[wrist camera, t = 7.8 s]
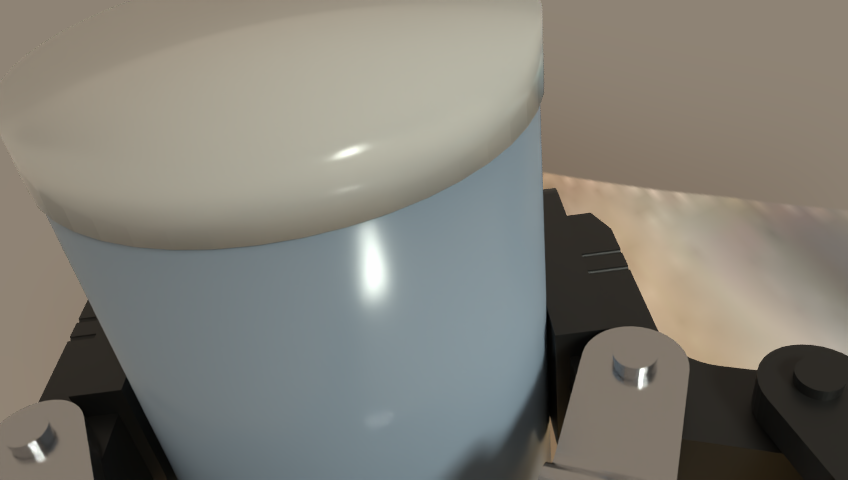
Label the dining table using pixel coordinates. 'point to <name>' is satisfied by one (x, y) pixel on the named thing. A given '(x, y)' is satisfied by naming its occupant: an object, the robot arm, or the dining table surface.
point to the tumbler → (306, 227)
